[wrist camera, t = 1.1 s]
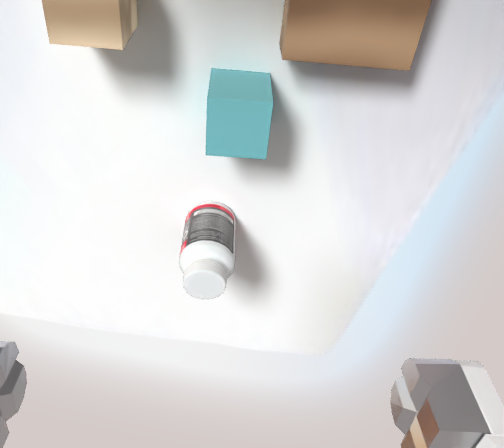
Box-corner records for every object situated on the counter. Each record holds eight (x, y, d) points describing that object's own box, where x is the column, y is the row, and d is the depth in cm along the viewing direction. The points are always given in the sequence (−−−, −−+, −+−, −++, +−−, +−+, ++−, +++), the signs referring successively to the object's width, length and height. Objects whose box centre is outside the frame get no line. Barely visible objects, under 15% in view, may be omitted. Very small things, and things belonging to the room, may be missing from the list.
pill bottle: (179, 204, 48) (167, 270, 40) (228, 194, 47) (225, 260, 40) (194, 241, 51) (185, 309, 44) (241, 233, 51) (240, 300, 43)
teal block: (211, 67, 39) (207, 97, 34) (269, 72, 39) (273, 102, 35) (209, 121, 42) (205, 155, 37) (263, 125, 42) (266, 159, 38)
